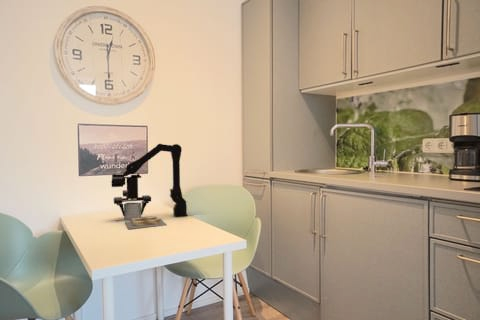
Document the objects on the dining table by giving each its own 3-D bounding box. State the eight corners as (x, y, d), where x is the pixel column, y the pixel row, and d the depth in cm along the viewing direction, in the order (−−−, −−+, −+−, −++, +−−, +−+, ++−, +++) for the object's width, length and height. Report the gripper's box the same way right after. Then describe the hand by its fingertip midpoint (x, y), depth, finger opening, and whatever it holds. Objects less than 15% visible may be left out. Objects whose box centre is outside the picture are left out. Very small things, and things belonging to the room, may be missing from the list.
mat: (160, 219, 174) (160, 218, 174) (167, 226, 159) (167, 224, 159) (124, 223, 166) (124, 221, 166) (128, 229, 152) (128, 228, 152)
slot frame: (156, 220, 169) (156, 216, 169) (159, 223, 162) (159, 219, 162) (131, 222, 164) (131, 218, 164) (133, 226, 156) (133, 222, 156)
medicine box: (141, 218, 177) (141, 202, 177) (138, 220, 173) (138, 203, 173) (127, 218, 178) (127, 202, 178) (123, 220, 174) (123, 203, 173)
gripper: (147, 184, 186) (148, 211, 187) (112, 185, 178) (113, 214, 179) (151, 186, 176) (151, 214, 177) (114, 188, 168) (114, 218, 169)
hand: (132, 215), depth 175 cm, fingers closed on medicine box, 9 cm apart
